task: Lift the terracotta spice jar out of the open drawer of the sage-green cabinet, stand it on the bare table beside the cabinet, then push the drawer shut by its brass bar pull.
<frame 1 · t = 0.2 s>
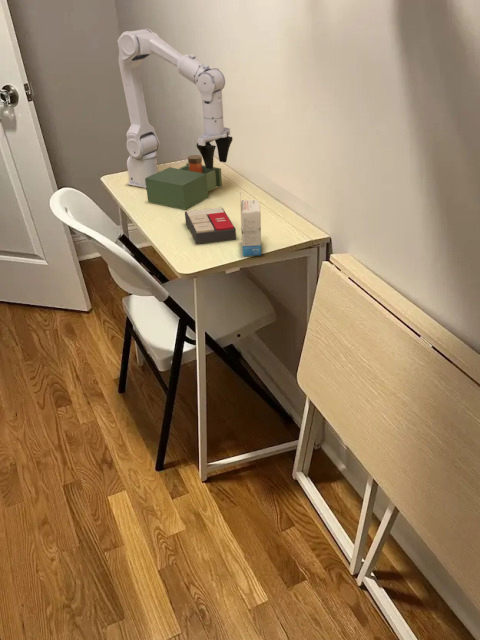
hand: (216, 165, 173), 10 cm above the table, tool pointing down, fingers open, 7 cm apart
drawer: (198, 177, 183), point 4 cm above the table, slide at 8.0 cm, touching spice jar
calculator: (210, 232, 157), on the table
ink box: (251, 250, 148), on the table
cabinet: (178, 200, 177), on the table
spice jar: (197, 184, 183), point 2 cm above the table, touching drawer
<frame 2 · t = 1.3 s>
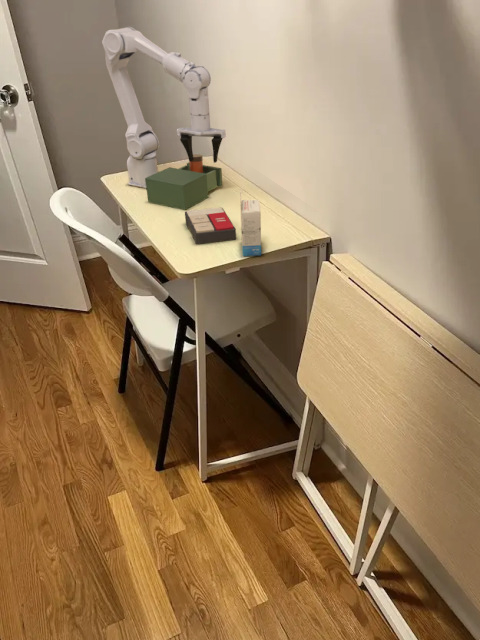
hand: (203, 161, 176), 10 cm above the table, tool pointing down, fingers open, 7 cm apart
spice jar: (197, 183, 183), point 2 cm above the table, touching drawer, gripper
everything else where it was.
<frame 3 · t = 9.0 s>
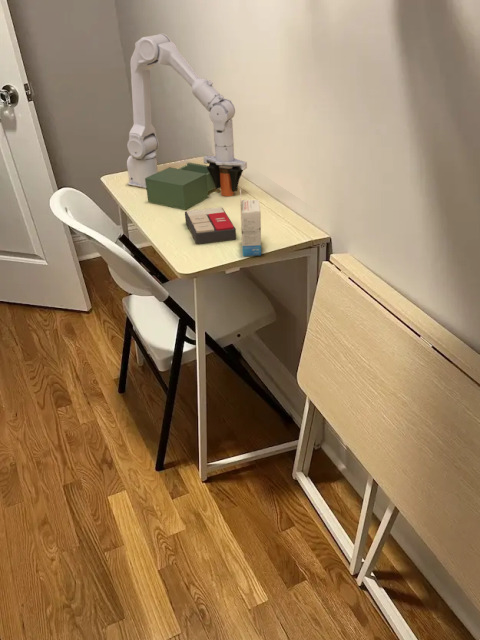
hand: (226, 189, 180), 2 cm above the table, tool pointing down, fingers open, 5 cm apart
drawer: (199, 177, 183), point 4 cm above the table, slide at 8.3 cm, touching gripper
spice jar: (227, 194, 182), on the table
everything else where it was.
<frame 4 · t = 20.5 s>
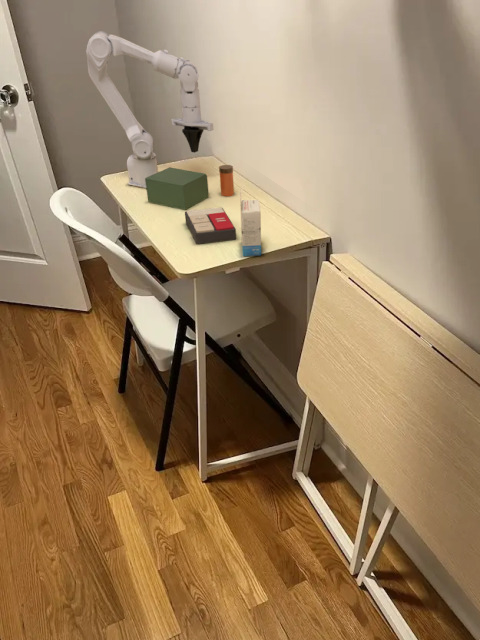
hand: (194, 151, 185), 10 cm above the table, tool pointing down, fingers closed
drawer: (184, 184, 177), point 4 cm above the table, slide at 0.0 cm, touching cabinet
everything else where it was.
at the end: spice jar 0.4 cm from the target spot, on the table; spice jar tilted 0°; drawer slide at 0.0 cm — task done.
